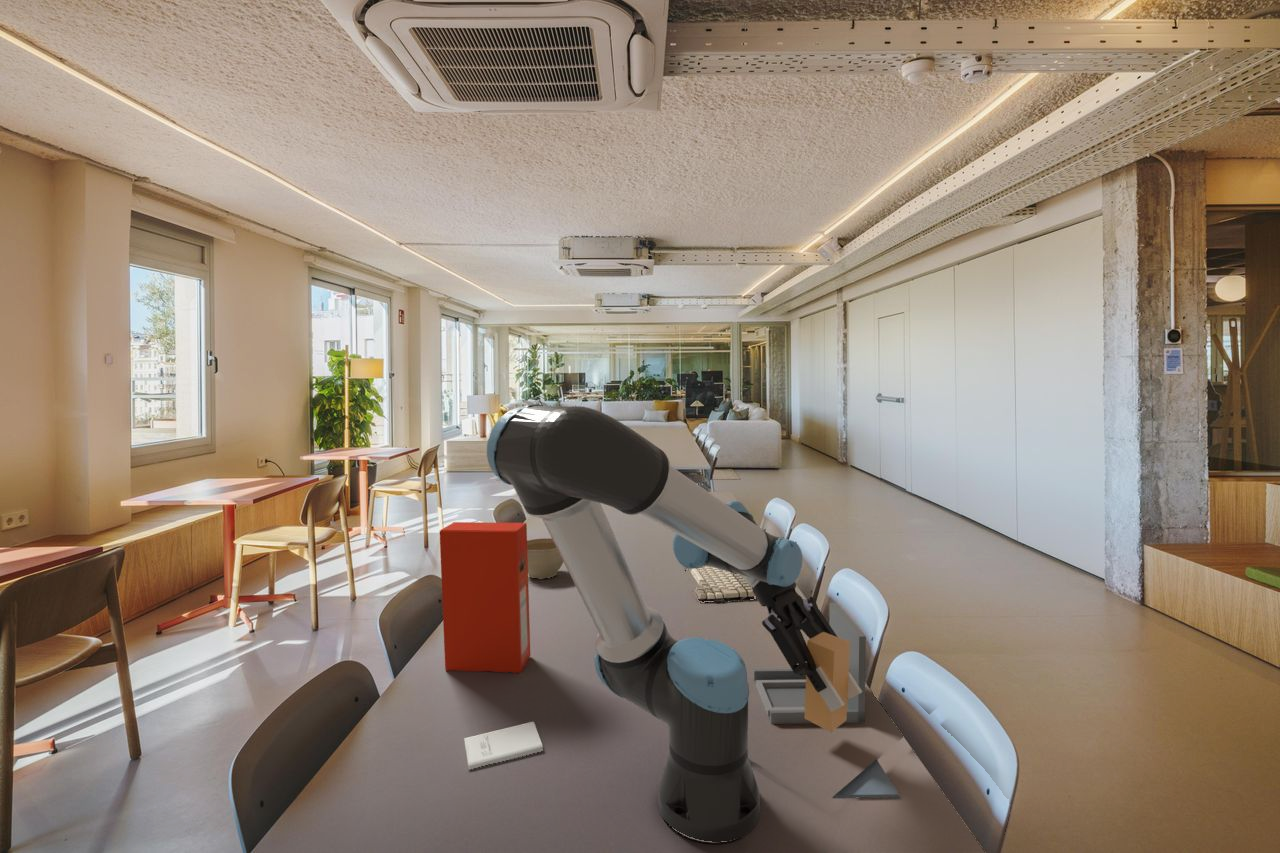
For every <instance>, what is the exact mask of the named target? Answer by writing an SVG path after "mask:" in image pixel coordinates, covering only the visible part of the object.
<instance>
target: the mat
mask: <svg viewBox="0 0 1280 853" xmlns="http://www.w3.org/2000/svg"><path fill="white" fill-rule="evenodd" d="M856 797H863V798H862V799H865V798H866V797H867V798H866V799H871V798H872V797H873V799H874V797H883V798H884V797H885V798H886V797H887V799H888V797H889V798H890V797H891V798H892V797H894V798H900V794H899V791H897V788H895V786H894V784H893V782H892V781H891V779H890V778H889V776H888V775H887V773H886V772H885V770H884V769H883V767H882V766H881V764H880V762H879V760H878V759H875V760H874V761H872V763H870V764H869V765H868V766H867V767H865V769H863V770H862V771H861V772H860V773H859V774H857V776H855V777H854V778H853V779H852V780H850V782H848V783H846V785H845V786H844V787H843V788H840V790H839V791H838V792H836V793H835V794H834V795H833V796H832V799H857V798H856ZM864 797H865V798H864ZM868 797H869V798H868ZM870 797H871V798H870ZM885 798H884V799H885Z"/></svg>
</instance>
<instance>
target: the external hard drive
mask: <svg viewBox="0 0 1280 853" xmlns="http://www.w3.org/2000/svg"><path fill="white" fill-rule="evenodd" d="M463 740H464V742H463V743H464V749H465V754H466V761H467V769H468V771H470V770H471V769H472V770H474V768H476V769H479V768H478V767H480V768H482V767H481V766H484V767H486V766H485V765H488V764H492V765H494V764H493V763H496V764H499V763H498V762H500V763H503V762H502V761H504V762H507V761H506V760H508V761H510V759H511V760H515V759H518V757H519V758H523V757H527V756H531V755H534V754H533V753H535V754H538V753H537V752H539V753H542V752H541V751H543V752H544V746H543V743H542V740H541V737H540V735H539V731H538V729H537V726H536V724H535V722H534V721H528V722H526V723H522V724H518V725H514V726H509V727H505V728H502V729H498V730H493V731H489V732H484V733H480V734H477V735H472V736H469V737H464V738H463ZM530 754H531V755H530ZM526 755H527V756H526ZM522 756H523V757H522ZM514 758H515V759H514ZM488 766H489V765H488ZM472 770H471V771H472Z"/></svg>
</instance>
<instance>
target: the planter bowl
mask: <svg viewBox="0 0 1280 853" xmlns="http://www.w3.org/2000/svg"><path fill="white" fill-rule="evenodd" d="M527 557H528V577H529V576H530V577H532V578H531V579H533V578H548V579H550V578H549V577H552V578H554V577H553V576H555V575H556V576H558V572H559V571H560V569H561V568H562V565H563V564H564V562H563V560H562V558H561V556H560V554H559V552H558V550H557V548H556V546H555V544H554V541H553V539H552V537H549V538H547V537H544V538H543V537H542V538H533V539H527ZM556 576H555V577H556ZM530 577H529V578H530Z"/></svg>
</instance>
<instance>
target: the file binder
mask: <svg viewBox="0 0 1280 853" xmlns="http://www.w3.org/2000/svg"><path fill="white" fill-rule="evenodd" d="M527 531H528V528H527V522H479V521H477V522H476V521H474V522H468V521H467V522H466V521H465V522H464V521H461V522H460V521H459V522H458V521H457V522H456V521H455V522H454V521H453V522H452V523H450V524H449V525H447V526H445V527H444V528H442V529H440V530H439V547H440V548H439V549H440V550H439V551H440V572H441V574H440V575H441V577H440V578H441V596H442V597H441V598H442V618H443V619H442V621H443V624H442V625H443V644H444V646H443V648H444V666H445V668H444V669H445V671H450V672H451V671H452V672H454V671H453V670H455V671H456V672H457V671H458V672H479V671H493V672H492V673H508V672H513V673H514V674H516V673H517V674H521V673H522V671H523V670H524V668H525V666H526V665H527V663H528V661H529V660H530V657H531V636H530V635H531V632H530V626H531V625H530V596H529V595H530V594H529V574H528V557H527V540H528V532H527ZM463 670H464V671H463ZM494 671H495V672H494Z"/></svg>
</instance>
